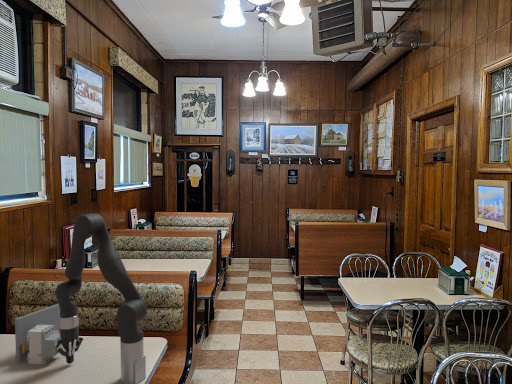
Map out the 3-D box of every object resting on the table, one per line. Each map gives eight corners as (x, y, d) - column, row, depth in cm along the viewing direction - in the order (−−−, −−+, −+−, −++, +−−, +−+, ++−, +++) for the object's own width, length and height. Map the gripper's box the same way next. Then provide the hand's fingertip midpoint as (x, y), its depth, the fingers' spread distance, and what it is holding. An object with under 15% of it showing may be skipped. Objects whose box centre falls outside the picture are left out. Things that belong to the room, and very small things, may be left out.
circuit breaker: (58, 364, 167) (57, 332, 166) (27, 363, 168) (26, 331, 167) (67, 356, 175) (66, 325, 174) (38, 355, 175) (37, 324, 175)
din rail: (62, 335, 187) (62, 328, 187) (23, 353, 169) (23, 344, 169) (60, 335, 188) (59, 327, 188) (20, 352, 170) (20, 343, 169)
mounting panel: (62, 342, 189) (61, 304, 188) (18, 362, 169) (17, 319, 168) (59, 341, 190) (58, 303, 189) (16, 361, 170) (14, 318, 169)
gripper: (61, 332, 158) (62, 371, 159) (87, 321, 170) (88, 358, 171) (49, 329, 161) (50, 368, 162) (76, 318, 173) (76, 354, 174)
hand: (70, 362), depth 166 cm, fingers closed
